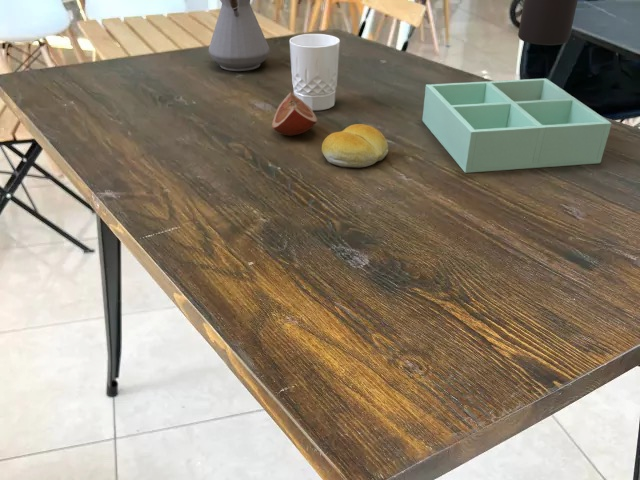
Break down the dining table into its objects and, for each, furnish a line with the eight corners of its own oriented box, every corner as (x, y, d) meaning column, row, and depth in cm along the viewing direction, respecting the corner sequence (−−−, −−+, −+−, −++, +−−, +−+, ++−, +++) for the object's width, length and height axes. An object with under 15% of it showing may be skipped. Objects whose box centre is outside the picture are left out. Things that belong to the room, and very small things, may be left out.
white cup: (322, 115, 103) (323, 49, 97) (281, 106, 106) (279, 42, 100) (347, 101, 108) (349, 38, 102) (307, 93, 111) (306, 31, 105)
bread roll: (310, 157, 90) (310, 129, 87) (354, 140, 95) (355, 113, 92) (354, 176, 85) (355, 146, 82) (398, 156, 90) (400, 128, 87)
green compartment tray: (538, 114, 104) (546, 78, 100) (600, 163, 88) (611, 123, 85) (422, 121, 101) (425, 84, 98) (465, 173, 86) (471, 132, 82)
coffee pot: (211, 57, 128) (203, -28, 119) (269, 56, 129) (266, -29, 120) (204, 92, 111) (195, -4, 102) (271, 90, 112) (267, -5, 103)
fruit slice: (271, 123, 100) (270, 90, 97) (315, 122, 100) (315, 89, 97) (273, 144, 93) (271, 109, 90) (319, 143, 94) (319, 108, 91)
